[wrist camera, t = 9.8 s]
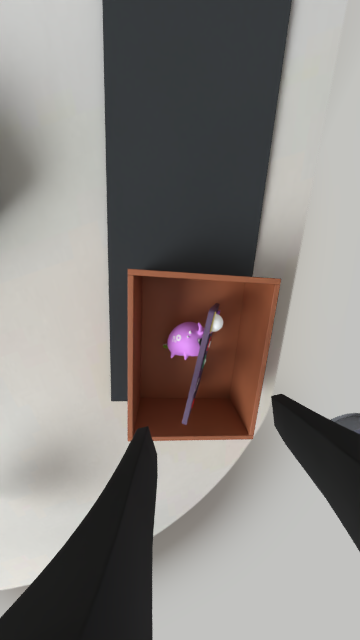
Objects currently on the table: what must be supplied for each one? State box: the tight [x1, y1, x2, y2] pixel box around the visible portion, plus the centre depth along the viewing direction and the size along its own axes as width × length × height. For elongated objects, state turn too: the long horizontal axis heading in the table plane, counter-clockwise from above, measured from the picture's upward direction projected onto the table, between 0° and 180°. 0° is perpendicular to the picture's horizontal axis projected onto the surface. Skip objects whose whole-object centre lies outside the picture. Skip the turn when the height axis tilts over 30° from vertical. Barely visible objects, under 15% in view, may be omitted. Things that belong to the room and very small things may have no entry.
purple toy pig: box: [163, 303, 223, 425], centre depth 17 cm, size 7×5×9 cm
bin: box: [128, 269, 281, 441], centre depth 17 cm, size 14×11×6 cm
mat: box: [103, 0, 292, 401], centre depth 16 cm, size 48×14×1 cm, turn 176°
